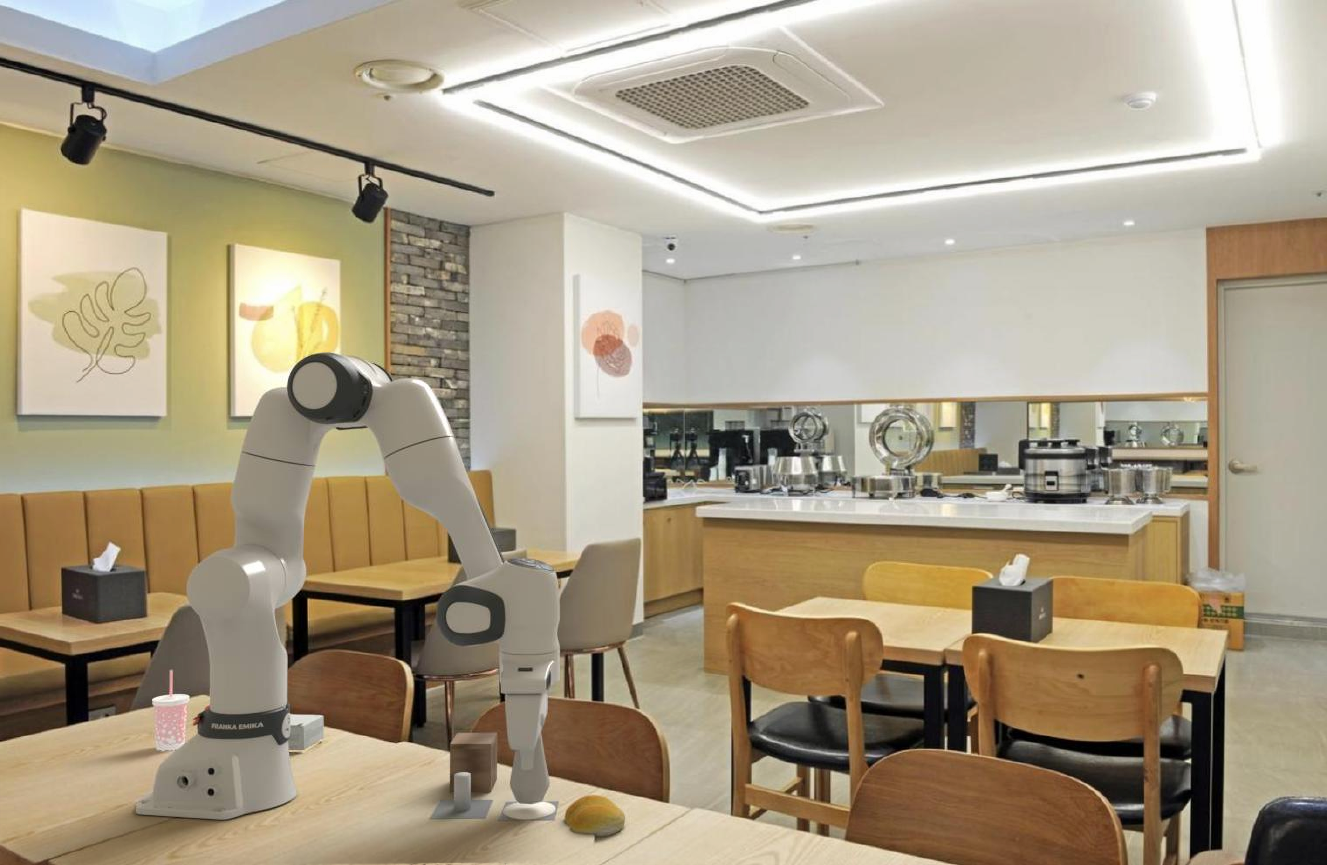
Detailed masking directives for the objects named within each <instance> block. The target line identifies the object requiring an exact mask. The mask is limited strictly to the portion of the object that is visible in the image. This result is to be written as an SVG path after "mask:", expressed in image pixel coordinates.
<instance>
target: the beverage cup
mask: <svg viewBox="0 0 1327 865" xmlns="http://www.w3.org/2000/svg"><path fill="white" fill-rule="evenodd" d="M173 674H174V672H173V669H169V694H165V695H159V696H156V697H154V698H152V699H151V701H152V703H151V704H152V705H153V710H154V711H153V714H154V717H153V718H154V731H155V732H154V733H155V750H156V749H157V750H156V751H158V750H161V751H160V752H166V751H165V750H173V751H176V750H175V749H178V748H180V747H181V746H182V745H183V744H185V743H186V742H185V740H186V731H187V730H186V728H187V727H186V726H187V716H188V713H187V712H188V706H189V705H188V703H189V701H190V695H189V694H184V693H183V694H182V693H174V694H173V681H174V680H173Z"/></svg>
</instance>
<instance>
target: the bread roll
mask: <svg viewBox="0 0 1327 865" xmlns="http://www.w3.org/2000/svg"><path fill="white" fill-rule="evenodd" d="M564 820H565V823H566V824H567V825H568V826H569V828H570V829H571V831H573V832H575V833H581V834H593V835H594V838H595V837H596V838H598V837H599V838H601V837H607V836H610V835H614V834H616V833H618V832H619V831H621V830H622V829H623V828H624V826H625V823H626V815H625V813H624V811H623V810H622V809H621V808H619V807H618V806H617V805H616V803H614V802H613V801H612V800H610V799H609V798H607V797H605V796H601V795H597V794H593V795H592V794H591V795H585V796H582V797H580V798H578V799H576V800H575V801H574V802H573V803H571V804H570V805H569V806H568V807H567V809H566V810H565V815H564Z"/></svg>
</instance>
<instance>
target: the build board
mask: <svg viewBox="0 0 1327 865" xmlns="http://www.w3.org/2000/svg"><path fill="white" fill-rule="evenodd" d="M559 803H560V802H559V801H558V800H557V801H556V800H555V801H553V800H552V801H551V800H550V801H549V800H547V801H545V800H544V801H542V802H539V803H535V804H520V803H519V802H517V801H505V803H504V806H503V807H502V809H501V813H500V815H499V818H498V822H500V821H502V822H505V821H506V822H507V821H509V822H510V821H511V822H512V821H513V822H515V821H516V822H517V821H520V822H521V821H525V822H526V821H555V820H556V815H557V811H558V808H559V807H558V806H559Z"/></svg>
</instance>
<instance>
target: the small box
mask: <svg viewBox="0 0 1327 865" xmlns="http://www.w3.org/2000/svg"><path fill="white" fill-rule="evenodd" d="M290 715H291V728H290V736H289V739H288V747H289V750H305V749H306V748H308V747H309V746H312V745H313V744H315V743H316V742H318V741H319V740H320V739H323V740H324V728H325V727H324V726H325V725H324V724H325V723H324V722H325V721H324V720H325V719H324V717H325V716H324V715H321V714H293V713H290Z"/></svg>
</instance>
